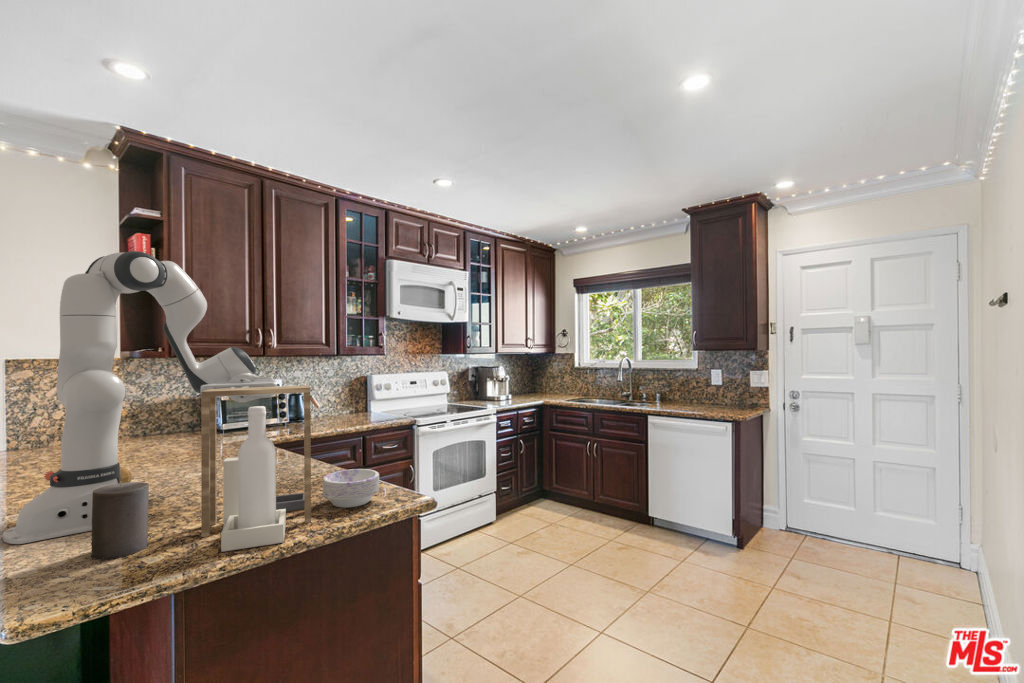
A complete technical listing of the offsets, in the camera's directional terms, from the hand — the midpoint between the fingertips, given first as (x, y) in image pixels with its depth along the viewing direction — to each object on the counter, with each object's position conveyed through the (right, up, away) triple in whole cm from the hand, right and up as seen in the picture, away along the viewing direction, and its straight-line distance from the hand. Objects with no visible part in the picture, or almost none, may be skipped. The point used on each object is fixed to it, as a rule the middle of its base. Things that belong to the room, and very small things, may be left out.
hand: (237, 390), depth 139 cm
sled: (+18, -31, -25) cm, 43 cm away
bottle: (+21, -31, -28) cm, 47 cm away
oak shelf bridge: (+16, -31, -18) cm, 40 cm away
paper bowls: (+34, -32, -3) cm, 47 cm away
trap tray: (+15, -32, -7) cm, 36 cm away
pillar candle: (-6, -31, -34) cm, 47 cm away
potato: (-47, -33, +13) cm, 59 cm away
